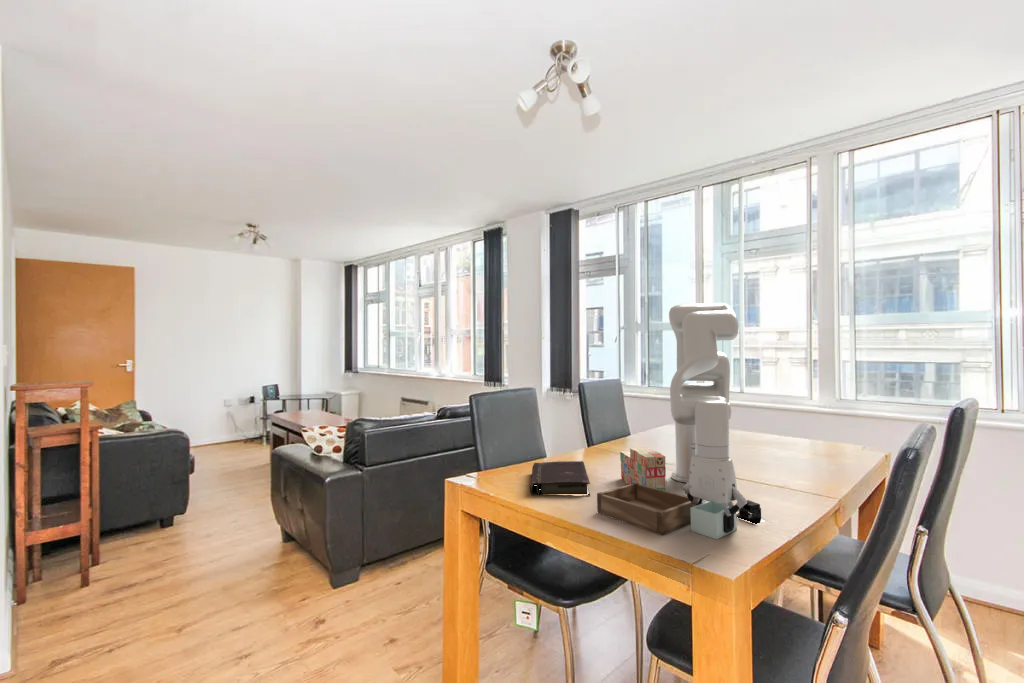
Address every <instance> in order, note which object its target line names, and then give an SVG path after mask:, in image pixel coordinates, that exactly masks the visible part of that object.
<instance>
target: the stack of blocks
mask: <svg viewBox="0 0 1024 683" xmlns="http://www.w3.org/2000/svg"><path fill="white" fill-rule="evenodd" d="M629 449H630V450H629V451H628V450H627V451H619V452H620V453H619V454H620V474H621V475H620V477H621V478H622V479H623V480H622V479H621V480H622V481H624V482H625V481H626V482H627V483H628V484H632V483H634V482H636V483H639V484H641V485H645V486H649V487H653V488H657V489H661V490H664V491H667V490H666V477H667V476H666V471H667V470H666V456H665V455H664V454H662V453H661V452H659V451H657V450H654V449H652V448H651V447H631V448H629ZM626 482H625V483H626ZM627 483H626V484H627ZM628 484H627V485H628Z"/></svg>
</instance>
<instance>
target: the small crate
mask: <svg viewBox="0 0 1024 683" xmlns="http://www.w3.org/2000/svg"><path fill="white" fill-rule="evenodd" d="M690 510H691V523H690V531H691V532H693V533H695V534H696V533H697V534H699V535H701V536H706V537H707V538H712V539H714V540H719V539H720V538H722V537H723V538H724V536H727V535H729V534H731V533H733V532H735V531H737V530H738V523H737V514H736V513H735V514H734V528H733V530H732V531H730V532H728V533H725V532H724V524H723V516H724V515H725V511H724V509H723V506H722V504H718V503H714V502H710V501H703V502H702V504H699V505H696V506H694V507H691V508H690Z"/></svg>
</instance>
